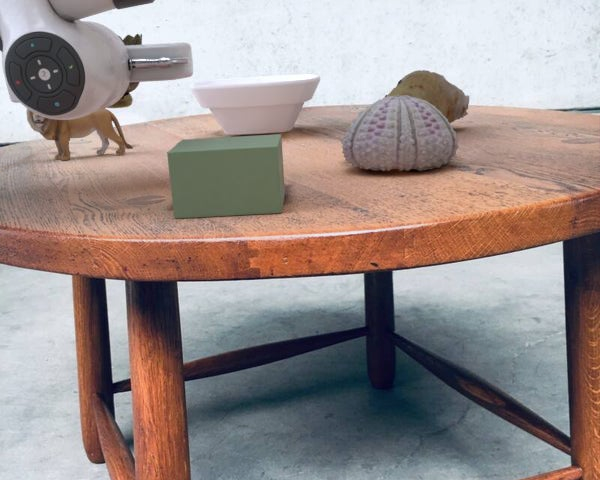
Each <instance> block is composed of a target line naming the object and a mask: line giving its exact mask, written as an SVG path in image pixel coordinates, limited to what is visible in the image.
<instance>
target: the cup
mask: <svg viewBox="0 0 600 480" xmlns="http://www.w3.org/2000/svg"><path fill="white" fill-rule="evenodd" d="M118 37H119V38H120V39H121V40H122V42H123V43H124V45H143V43H142V42H143V34H142V33H140V34H139V33H137V34H135V35H134V36H133V35H131V34H127V35H126V36H125V37H124V38H122V37H121V36H120V35H118ZM140 83H141V82H130V83H129V86H128V88H127V90H126V92H125V93H124V95H123V96H122V97H121V98H120V99H119V100H118V101H117V102H116V103H115V104H113V105H111V106H110V107H107V108H106V109H122V108H129V107H131V106H132V104H133V102H134V98H133V95H132V94H131V92H133V91H135V90H136V89H137V88H138V87H139V85H140Z"/></svg>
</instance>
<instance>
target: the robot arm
mask: <svg viewBox="0 0 600 480" xmlns="http://www.w3.org/2000/svg"><path fill="white" fill-rule="evenodd" d="M155 1H156V0H0V52H1V66H2V67H1V68H2V72H3V75H4V76H3V77H4V80H5V84H6V89H7V93H8V95H9V99H10V102H12V103H15V104H17V103H19V104H20V105H22V106H23V107H25V108H26V110H27V109H29V110H30V111H31V112H33V113H35V114H37V115H39V116H41V117H45V118H48V119H56V120H71V119H77V118H81V117H84V116H86V115H89V114H91V113H94V112H97V111H100V110H102V109H108V108H107V107H110V106H111V105H113V104H115V103H116V102H117V101H118V100H119V99H120V98H121V97H122V96H123V95H124V93H125V92H126V90H127V88H128V86H129V83H130V82H140V83H144V82H147V83H148V82H165V81H175V80H181V79H188V78H191V77H192V76H193V75H194V58H193V51H192V45H191V44H190V43H189V42H168V43H167V42H166V43H149V44H148V43H147V44H146V43H145V44H142V45H124V43H123V42H122V40H123V39H122V40H121V39H120V38H119V37H118V36H119V34H117V33H116V32H115V31H113V30H112V29H111V28H109V27H108V26H106V25H104V24H101V23H99V22H95V21H88V20H82V19H85V18H89V17H92V16H96V15H98V14H102V13H105V12H110V11H112V10H123V9H128V8H135V7H138V6H144V5H149V4H153V3H155Z"/></svg>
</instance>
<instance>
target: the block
mask: <svg viewBox="0 0 600 480" xmlns="http://www.w3.org/2000/svg"><path fill="white" fill-rule="evenodd" d="M166 156H167V164H168V172H169V182H170V192H171V193H170V194H171V200H172V209H173V210H172V211H173V219H194V218H196V219H197V218H214V217H216V218H217V217H234V216H250V215H251V216H253V215H269V214H270V215H272V214H282V213H283V207H284V202H285V196H286V190H285V189H286V186H285V171H284V153H283V137H282V133H278V134H276V133H274V134H256V135H243V136H240V135H238V136H225V137H224V136H223V137H222V136H221V137H207V138H188V139H181V140H180V141H179V142H178V143H176V144H175V145H174V146H173V147H172V148H171V149H169V150H168V151H167V153H166Z"/></svg>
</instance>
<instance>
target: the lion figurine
mask: <svg viewBox="0 0 600 480" xmlns="http://www.w3.org/2000/svg"><path fill="white" fill-rule="evenodd" d="M25 114H26V120H27V122H28V124H29V126H30V128H31V129H32V130H33V131H34V132H37V133H39V134H40V135H41V136H42V137H43V139H45V140H47V141H54V144H55V147H56V149H57V154H56V155H54V159H55V160H60V161H70V159H71V151H70V140H71V139H83V138H86V137H88V136H89V135H91V134H92V133H94V132H96V134H97V135H98V137H99V139H100V140H101V147H100V149H97V150H96V152H95V153H96V155H105V154H106V152H107V150H108V148H109V146H110V141H111V142H114V143H115V144H116V145H117V146H118V148H119V149H116V150H115V154H116V155H118V156H121V155H125V154H126V149H128V150H130V149H131V150H133V149H134V147H133V146H132V145H131V144H129V143H128V142H127V141H126V138H125V135H124V132H123V129H122V127H121V125H120V122H119V120H118V118H117V117H116V116H115V114H114V113H113V111H110V110H109V109H108V108H105V109H102V110H100V111H97V112H94V113H91V114H89V115H86V116H84V117H81V118H77V119H71V120H56V119H48V118H45V117H41V116H39V115H37V114H35V113H33V112H31V111H30V110H29V109H27V108H26V113H25ZM113 124H114V126H115V128H116V130H115V128H114V126H113ZM117 132H118V133H117ZM109 140H110V141H109Z"/></svg>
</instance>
